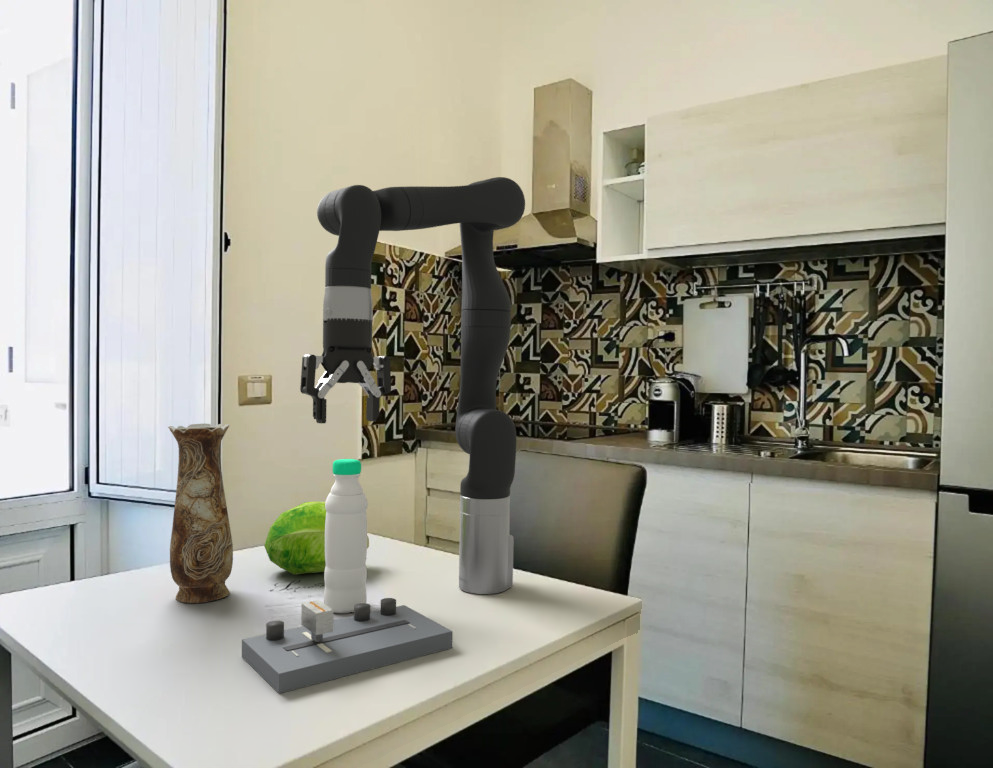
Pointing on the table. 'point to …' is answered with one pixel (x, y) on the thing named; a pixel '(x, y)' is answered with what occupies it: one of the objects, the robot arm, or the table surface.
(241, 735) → the table surface
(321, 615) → the fader
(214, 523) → the vase
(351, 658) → the console
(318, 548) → the lettuce
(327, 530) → the water bottle
